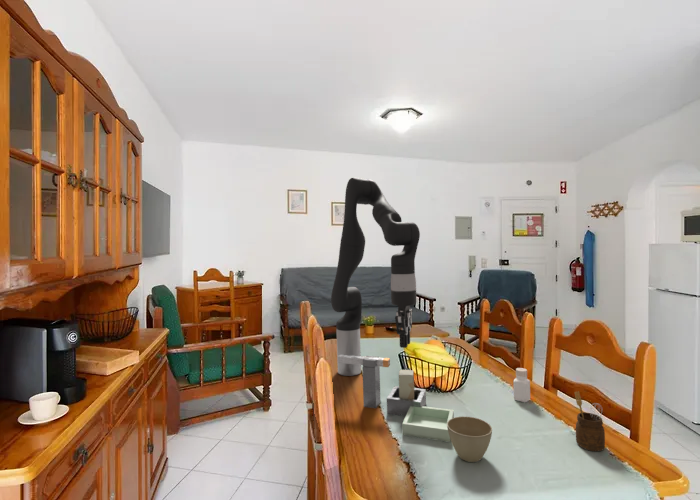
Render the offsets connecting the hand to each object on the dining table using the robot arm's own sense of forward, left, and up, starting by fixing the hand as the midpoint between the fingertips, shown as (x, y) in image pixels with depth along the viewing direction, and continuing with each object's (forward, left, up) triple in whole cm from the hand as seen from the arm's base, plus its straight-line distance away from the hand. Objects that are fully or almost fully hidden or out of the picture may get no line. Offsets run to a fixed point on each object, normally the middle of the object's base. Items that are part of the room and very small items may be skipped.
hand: (405, 345), depth 114 cm
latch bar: (0, -13, -7) cm, 15 cm away
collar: (0, 0, -19) cm, 19 cm away
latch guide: (0, -11, -19) cm, 22 cm away
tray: (+10, +8, -19) cm, 23 cm away
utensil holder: (+8, +46, -19) cm, 51 cm away
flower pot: (+21, +19, -19) cm, 34 cm away
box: (0, 0, -19) cm, 19 cm away
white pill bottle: (-16, +33, -19) cm, 42 cm away
